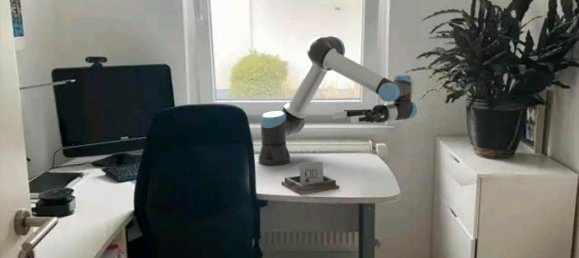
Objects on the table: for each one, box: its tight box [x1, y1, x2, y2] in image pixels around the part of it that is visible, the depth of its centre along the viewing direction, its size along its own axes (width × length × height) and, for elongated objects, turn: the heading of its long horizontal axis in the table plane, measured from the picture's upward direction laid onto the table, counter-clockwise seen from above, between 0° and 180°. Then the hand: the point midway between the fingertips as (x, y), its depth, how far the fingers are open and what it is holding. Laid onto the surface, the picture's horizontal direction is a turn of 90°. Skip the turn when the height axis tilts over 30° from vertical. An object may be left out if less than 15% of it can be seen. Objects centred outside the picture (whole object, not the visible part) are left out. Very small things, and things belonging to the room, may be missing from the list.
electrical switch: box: [298, 161, 324, 185], centre depth 224 cm, size 9×5×9 cm, turn 95°
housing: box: [281, 174, 340, 196], centre depth 224 cm, size 17×17×3 cm
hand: (342, 117), depth 229 cm, fingers open, 13 cm apart
